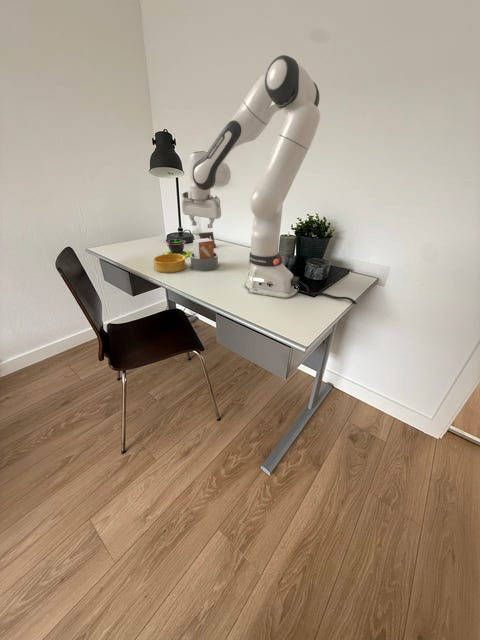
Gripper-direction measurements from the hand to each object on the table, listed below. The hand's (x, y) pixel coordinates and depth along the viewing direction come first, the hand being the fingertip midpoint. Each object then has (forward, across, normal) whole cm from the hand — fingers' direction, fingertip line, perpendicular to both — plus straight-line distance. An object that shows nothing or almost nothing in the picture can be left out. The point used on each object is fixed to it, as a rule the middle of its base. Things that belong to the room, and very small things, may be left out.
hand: (202, 226), depth 125 cm
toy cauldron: (+20, +26, -8) cm, 33 cm away
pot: (+20, 0, 0) cm, 20 cm away
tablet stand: (+20, +22, -31) cm, 43 cm away
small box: (+19, 0, 0) cm, 19 cm away
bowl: (+20, +12, +11) cm, 26 cm away
